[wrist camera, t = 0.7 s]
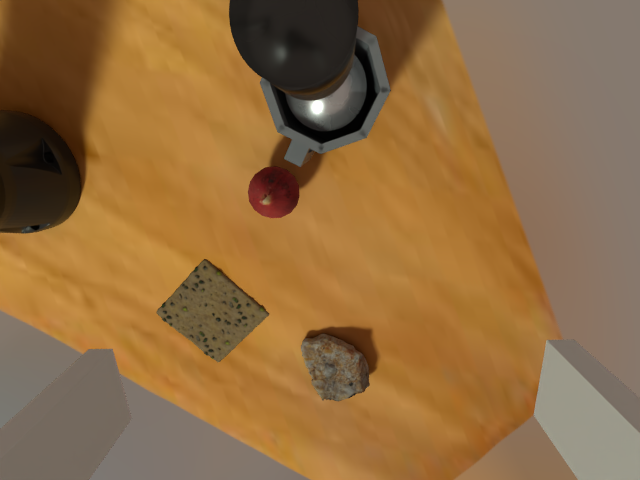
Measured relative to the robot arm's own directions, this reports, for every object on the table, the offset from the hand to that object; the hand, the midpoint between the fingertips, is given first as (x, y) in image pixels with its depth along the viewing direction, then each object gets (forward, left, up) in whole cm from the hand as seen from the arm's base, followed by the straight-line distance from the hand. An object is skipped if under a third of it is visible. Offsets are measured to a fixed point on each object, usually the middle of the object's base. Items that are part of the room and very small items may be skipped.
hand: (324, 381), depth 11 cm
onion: (-7, -3, -34) cm, 35 cm away
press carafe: (-6, +9, -34) cm, 35 cm away
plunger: (-6, +9, -22) cm, 25 cm away
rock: (+10, -22, -34) cm, 42 cm away
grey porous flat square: (-9, -23, -34) cm, 42 cm away
